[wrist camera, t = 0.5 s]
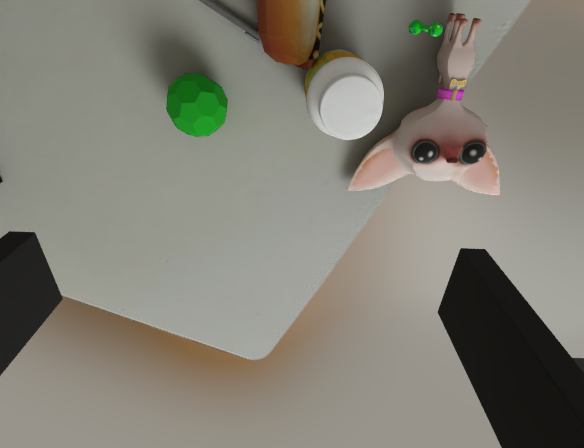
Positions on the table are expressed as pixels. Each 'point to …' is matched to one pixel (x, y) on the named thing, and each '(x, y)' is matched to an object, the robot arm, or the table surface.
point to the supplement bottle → (344, 95)
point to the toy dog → (437, 128)
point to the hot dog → (291, 30)
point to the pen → (234, 19)
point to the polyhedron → (196, 104)
